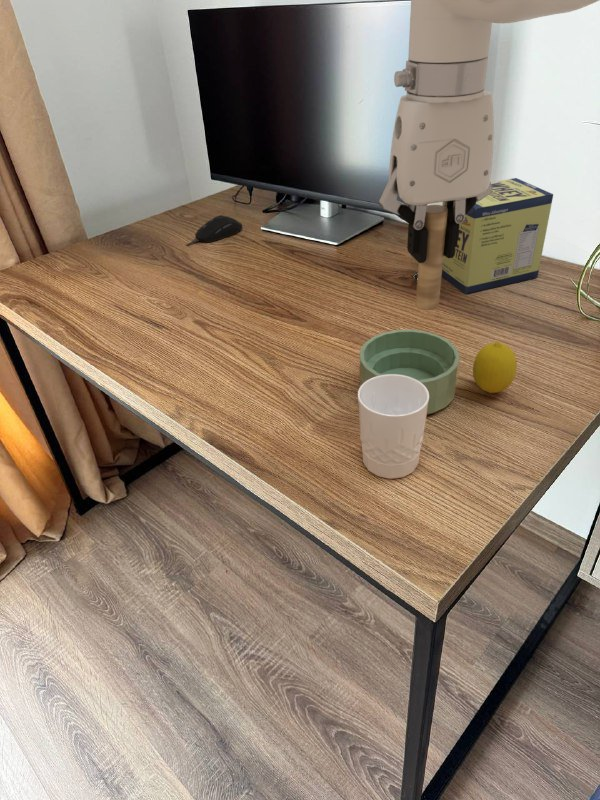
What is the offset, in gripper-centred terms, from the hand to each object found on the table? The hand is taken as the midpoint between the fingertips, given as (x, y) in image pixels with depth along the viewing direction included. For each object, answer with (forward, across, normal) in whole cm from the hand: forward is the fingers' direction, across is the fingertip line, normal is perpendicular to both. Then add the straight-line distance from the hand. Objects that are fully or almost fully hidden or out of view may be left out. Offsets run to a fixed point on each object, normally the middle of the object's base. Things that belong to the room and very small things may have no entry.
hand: (431, 254), depth 68 cm
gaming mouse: (+22, -19, +72) cm, 78 cm away
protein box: (+21, +27, +31) cm, 46 cm away
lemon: (+21, +10, -2) cm, 23 cm away
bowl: (+21, -1, +2) cm, 21 cm away
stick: (+7, 0, 0) cm, 7 cm away
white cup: (+21, -8, -11) cm, 25 cm away
